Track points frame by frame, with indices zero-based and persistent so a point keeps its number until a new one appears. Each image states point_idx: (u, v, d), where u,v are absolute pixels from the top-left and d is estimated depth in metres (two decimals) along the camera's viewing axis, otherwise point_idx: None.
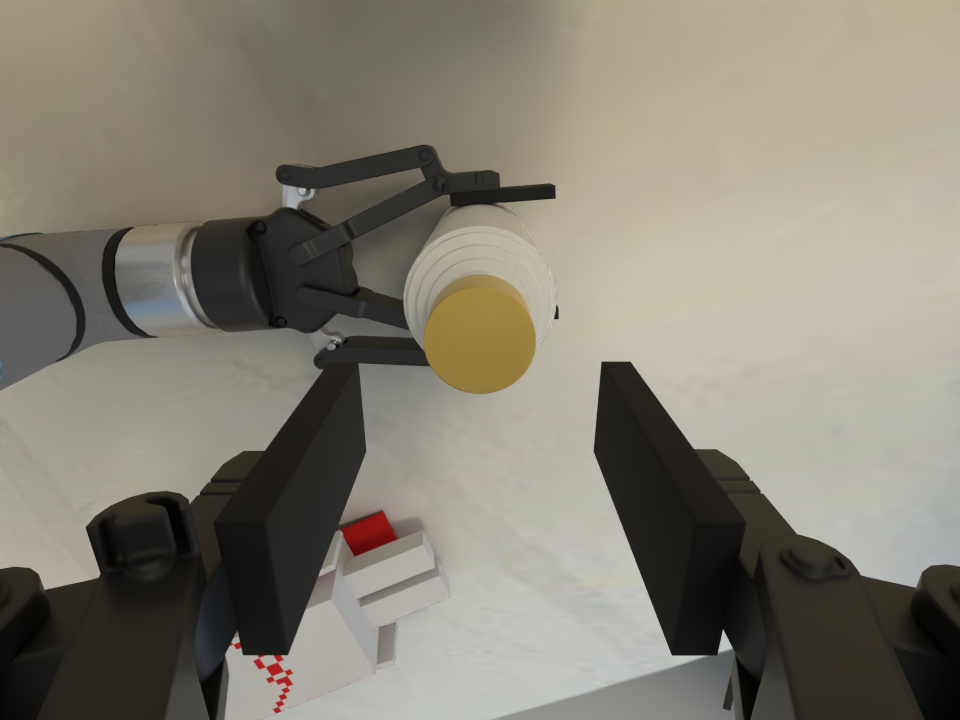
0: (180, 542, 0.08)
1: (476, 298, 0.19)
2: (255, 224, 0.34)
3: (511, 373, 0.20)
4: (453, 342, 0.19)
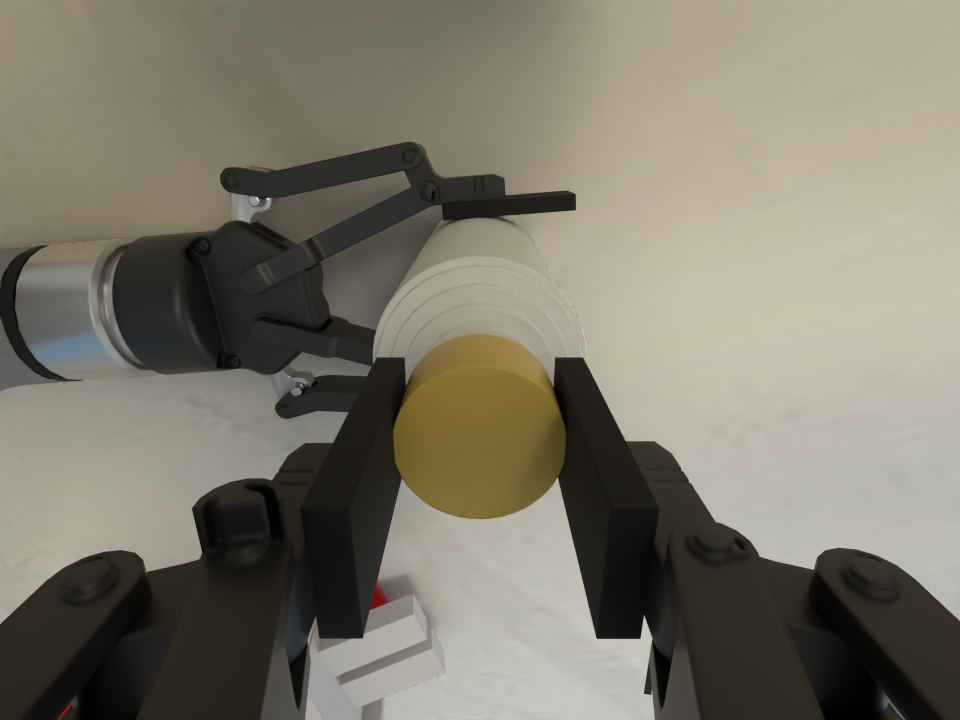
0: (273, 528, 0.08)
1: (474, 382, 0.12)
2: (197, 242, 0.27)
3: (528, 491, 0.13)
4: (438, 446, 0.12)
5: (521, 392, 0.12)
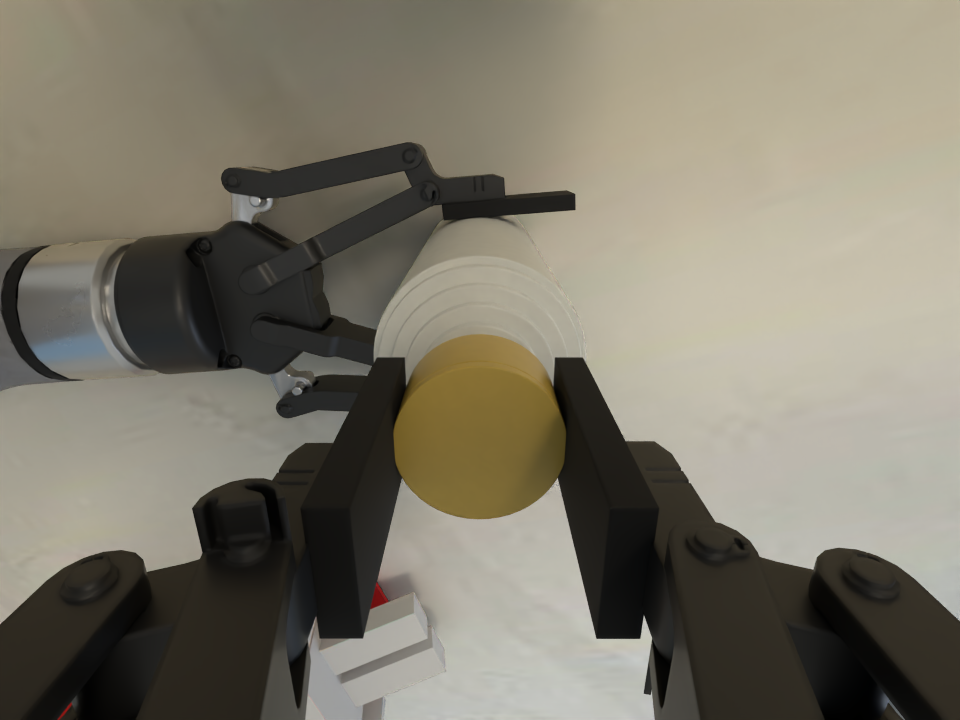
0: (273, 528, 0.08)
1: (409, 449, 0.12)
2: (198, 242, 0.27)
3: (535, 404, 0.12)
4: (477, 482, 0.13)
5: (419, 409, 0.12)
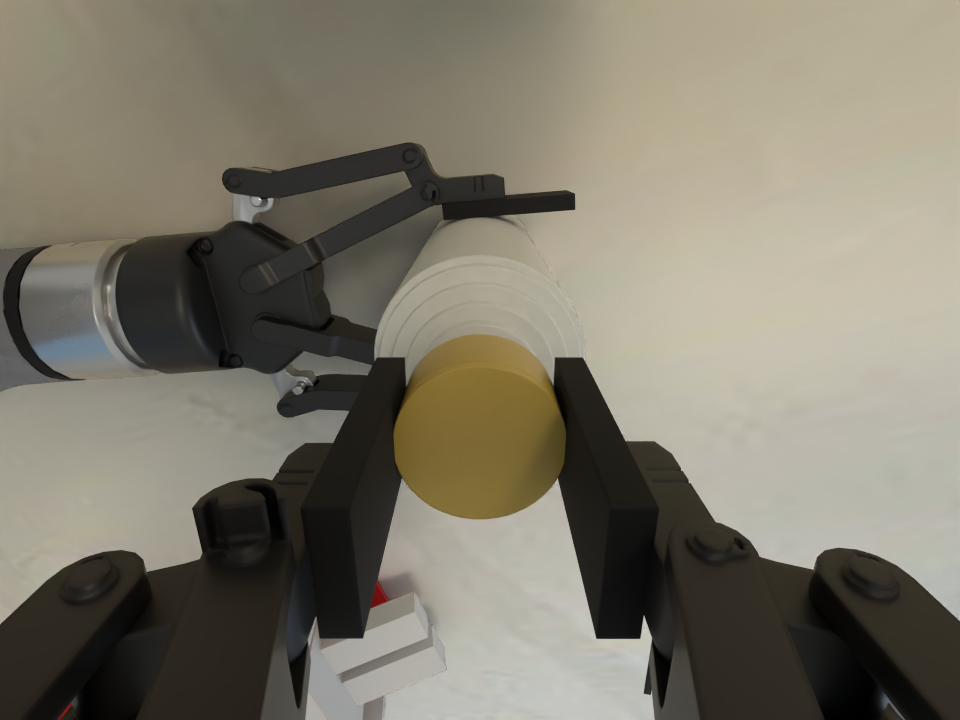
0: (273, 529, 0.08)
1: (479, 506, 0.13)
2: (199, 242, 0.27)
3: (432, 397, 0.12)
4: (520, 451, 0.12)
5: (436, 495, 0.13)
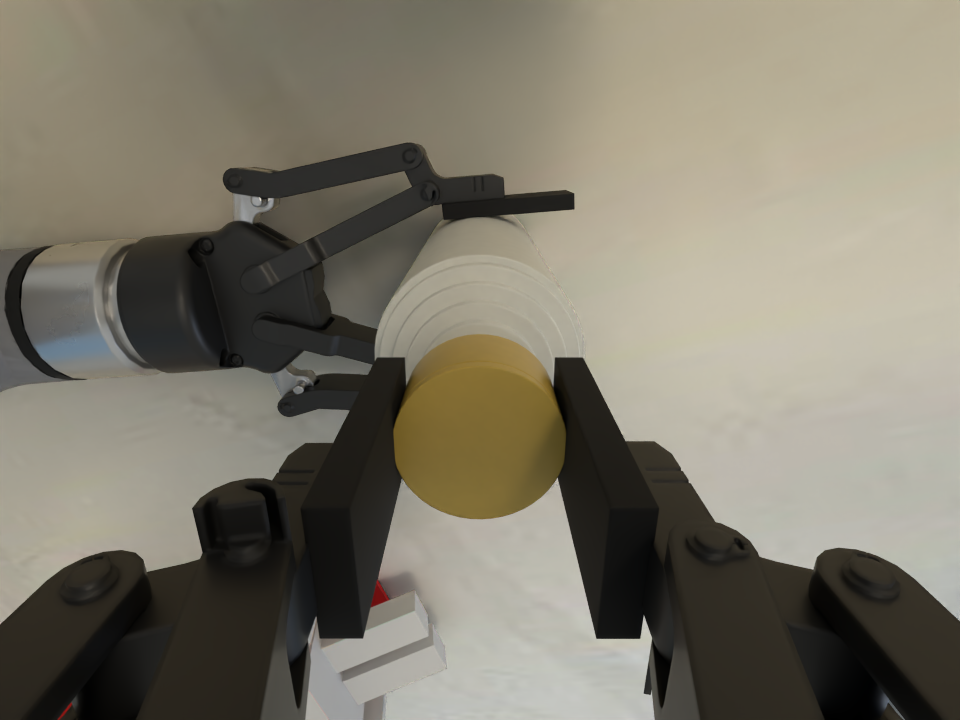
0: (273, 528, 0.08)
1: (550, 450, 0.12)
2: (200, 242, 0.27)
3: (423, 484, 0.13)
4: (485, 411, 0.12)
5: (532, 487, 0.13)
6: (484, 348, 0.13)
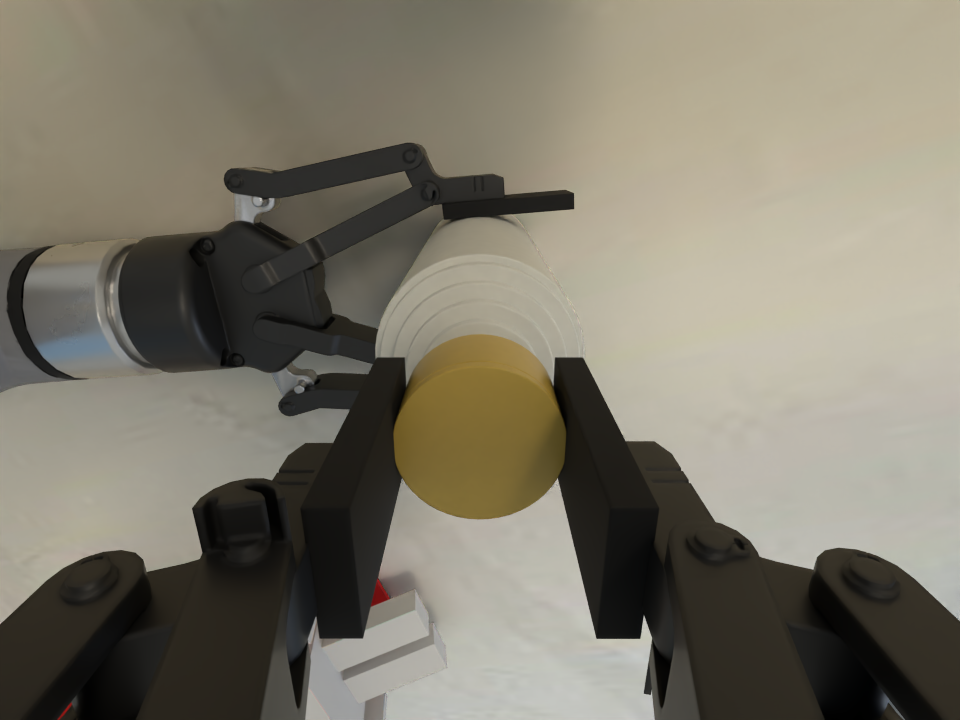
0: (273, 528, 0.08)
1: (487, 382, 0.12)
2: (201, 242, 0.27)
3: (519, 497, 0.13)
4: (439, 441, 0.12)
5: (531, 399, 0.12)
6: None
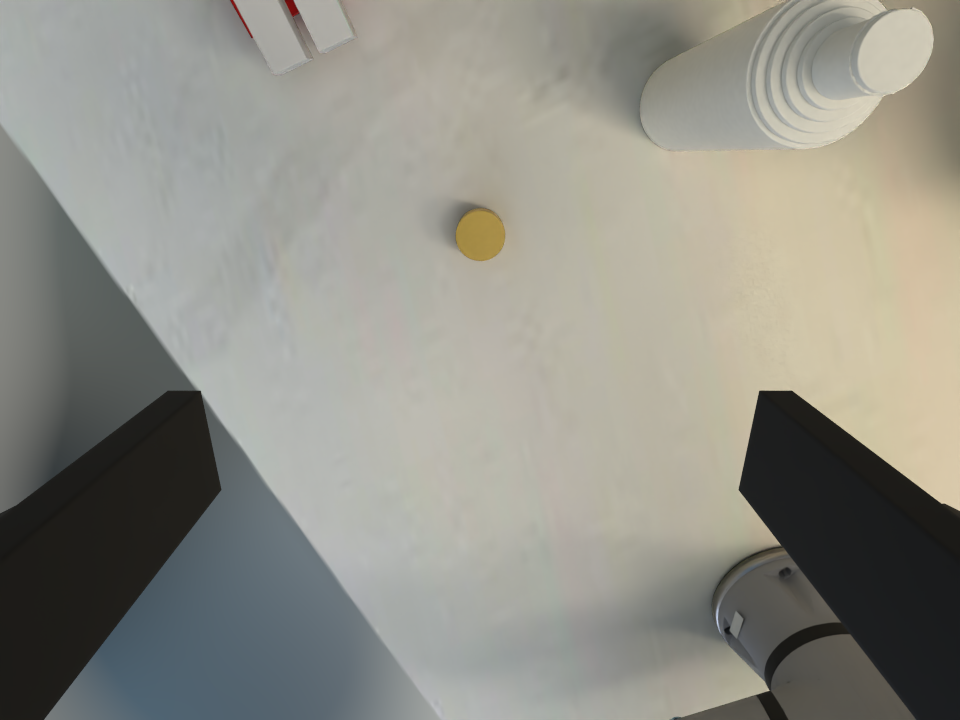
0: None
1: (482, 215, 0.44)
2: None
3: (491, 253, 0.45)
4: (469, 234, 0.44)
5: (494, 221, 0.44)
6: None
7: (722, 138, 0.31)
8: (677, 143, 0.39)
